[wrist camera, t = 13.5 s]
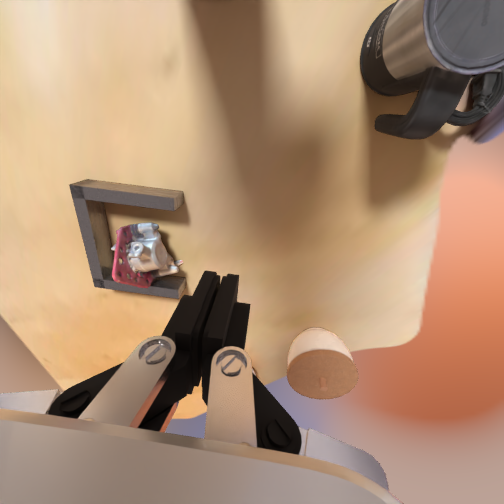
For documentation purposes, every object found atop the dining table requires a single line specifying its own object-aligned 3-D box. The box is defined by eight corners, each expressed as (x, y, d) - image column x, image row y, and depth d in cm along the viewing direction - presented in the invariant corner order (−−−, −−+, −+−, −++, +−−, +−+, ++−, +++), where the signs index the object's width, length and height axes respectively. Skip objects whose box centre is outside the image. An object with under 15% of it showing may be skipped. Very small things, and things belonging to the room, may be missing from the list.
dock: (87, 179, 40) (69, 184, 37) (183, 191, 40) (173, 198, 36) (107, 275, 49) (94, 287, 46) (185, 286, 49) (178, 298, 45)
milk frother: (359, 10, 28) (431, -88, 15) (518, -36, 25) (777, -206, 12) (359, 143, 34) (411, 156, 21) (487, 117, 32) (636, 113, 19)
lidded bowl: (285, 316, 50) (287, 363, 40) (349, 317, 49) (367, 366, 39) (285, 358, 56) (287, 408, 46) (342, 360, 55) (356, 412, 45)
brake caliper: (93, 228, 42) (94, 247, 32) (157, 207, 46) (173, 218, 36) (123, 282, 47) (131, 313, 37) (178, 259, 51) (197, 280, 41)
